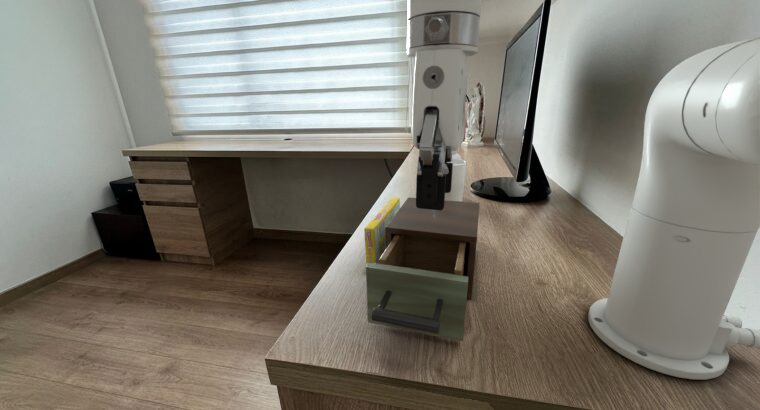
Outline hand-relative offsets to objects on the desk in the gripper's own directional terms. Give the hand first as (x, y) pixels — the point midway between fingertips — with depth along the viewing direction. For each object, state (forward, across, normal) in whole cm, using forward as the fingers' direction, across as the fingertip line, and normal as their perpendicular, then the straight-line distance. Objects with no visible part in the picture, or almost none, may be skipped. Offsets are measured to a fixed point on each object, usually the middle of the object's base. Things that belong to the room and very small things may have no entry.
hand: (434, 198), depth 40 cm
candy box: (+16, +13, +11) cm, 23 cm away
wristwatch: (+1, 0, 0) cm, 1 cm away
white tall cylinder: (+16, +27, +1) cm, 31 cm away
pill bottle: (+16, +51, +4) cm, 53 cm away
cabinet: (+16, +10, +1) cm, 18 cm away
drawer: (+15, -3, +1) cm, 15 cm away
